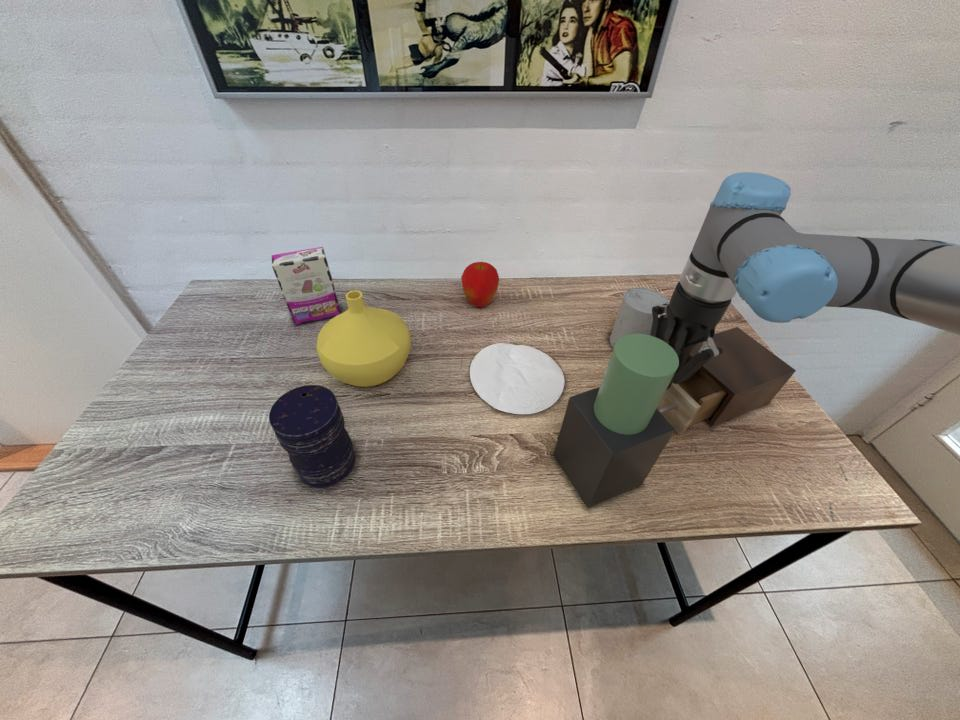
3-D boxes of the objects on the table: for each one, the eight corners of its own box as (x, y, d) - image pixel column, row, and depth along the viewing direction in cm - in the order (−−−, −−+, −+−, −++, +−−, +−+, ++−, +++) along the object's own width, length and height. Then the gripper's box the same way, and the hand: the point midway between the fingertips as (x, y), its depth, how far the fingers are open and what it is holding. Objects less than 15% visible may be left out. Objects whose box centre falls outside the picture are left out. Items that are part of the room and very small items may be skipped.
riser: (641, 485, 70) (675, 429, 58) (587, 508, 66) (613, 454, 55) (603, 435, 77) (627, 377, 66) (553, 454, 73) (569, 396, 62)
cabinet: (711, 427, 79) (735, 394, 72) (662, 378, 88) (679, 345, 81) (769, 403, 84) (796, 370, 77) (717, 359, 92) (737, 326, 86)
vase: (415, 339, 95) (407, 267, 81) (411, 399, 82) (401, 326, 68) (334, 341, 93) (313, 268, 80) (318, 403, 80) (288, 328, 67)
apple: (495, 292, 109) (498, 252, 100) (499, 313, 102) (502, 272, 94) (460, 293, 108) (460, 252, 100) (462, 314, 102) (462, 273, 93)
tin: (660, 424, 59) (693, 366, 51) (615, 442, 57) (641, 384, 48) (625, 386, 64) (650, 327, 56) (583, 400, 62) (601, 342, 53)
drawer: (656, 444, 75) (672, 417, 69) (614, 395, 83) (625, 368, 77) (736, 411, 80) (756, 385, 75) (689, 369, 89) (704, 342, 83)
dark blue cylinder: (357, 482, 68) (338, 429, 58) (296, 495, 66) (264, 443, 56) (354, 434, 75) (337, 379, 65) (298, 445, 73) (271, 390, 63)
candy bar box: (339, 304, 103) (323, 245, 92) (342, 316, 100) (326, 256, 88) (292, 313, 100) (270, 253, 89) (294, 326, 97) (271, 265, 85)
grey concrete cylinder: (642, 329, 100) (659, 287, 91) (657, 356, 93) (677, 313, 84) (604, 330, 99) (618, 287, 90) (616, 357, 92) (632, 314, 84)
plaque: (453, 361, 89) (453, 357, 88) (528, 335, 97) (529, 330, 96) (500, 431, 78) (501, 427, 76) (582, 395, 85) (583, 390, 84)
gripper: (653, 271, 62) (613, 377, 78) (720, 322, 53) (660, 429, 70) (691, 261, 64) (645, 367, 80) (762, 309, 55) (693, 416, 72)
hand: (652, 395), depth 75 cm, fingers closed
